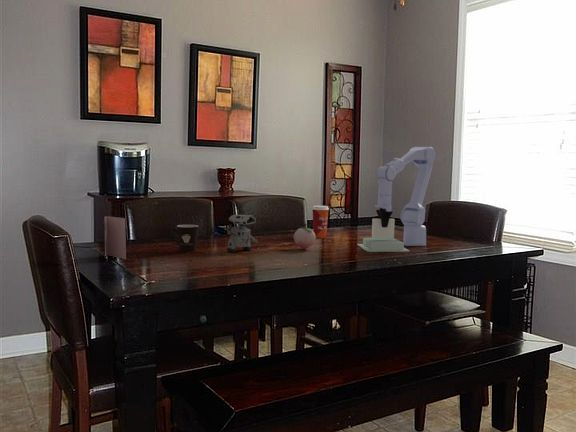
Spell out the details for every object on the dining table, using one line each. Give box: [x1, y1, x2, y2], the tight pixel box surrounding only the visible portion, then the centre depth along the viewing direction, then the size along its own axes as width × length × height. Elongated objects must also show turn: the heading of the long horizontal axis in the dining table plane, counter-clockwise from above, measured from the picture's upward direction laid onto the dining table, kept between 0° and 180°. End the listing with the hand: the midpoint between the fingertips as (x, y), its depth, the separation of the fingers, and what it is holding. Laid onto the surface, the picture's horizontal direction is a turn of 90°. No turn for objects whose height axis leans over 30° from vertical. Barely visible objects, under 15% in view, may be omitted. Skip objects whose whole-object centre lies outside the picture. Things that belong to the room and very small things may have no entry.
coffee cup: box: [311, 205, 330, 239], centre depth 263 cm, size 8×8×15 cm
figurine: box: [226, 214, 261, 253], centre depth 219 cm, size 9×12×15 cm
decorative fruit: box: [293, 227, 317, 250], centre depth 228 cm, size 9×8×10 cm
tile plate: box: [371, 217, 396, 238], centre depth 234 cm, size 9×2×8 cm, turn 96°
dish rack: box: [357, 237, 410, 253], centre depth 235 cm, size 18×17×4 cm
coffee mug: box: [167, 224, 200, 253], centre depth 220 cm, size 12×9×10 cm
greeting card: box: [102, 215, 127, 260], centre depth 200 cm, size 11×7×15 cm, turn 22°
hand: (383, 226), depth 234 cm, fingers closed on tile plate, 2 cm apart
